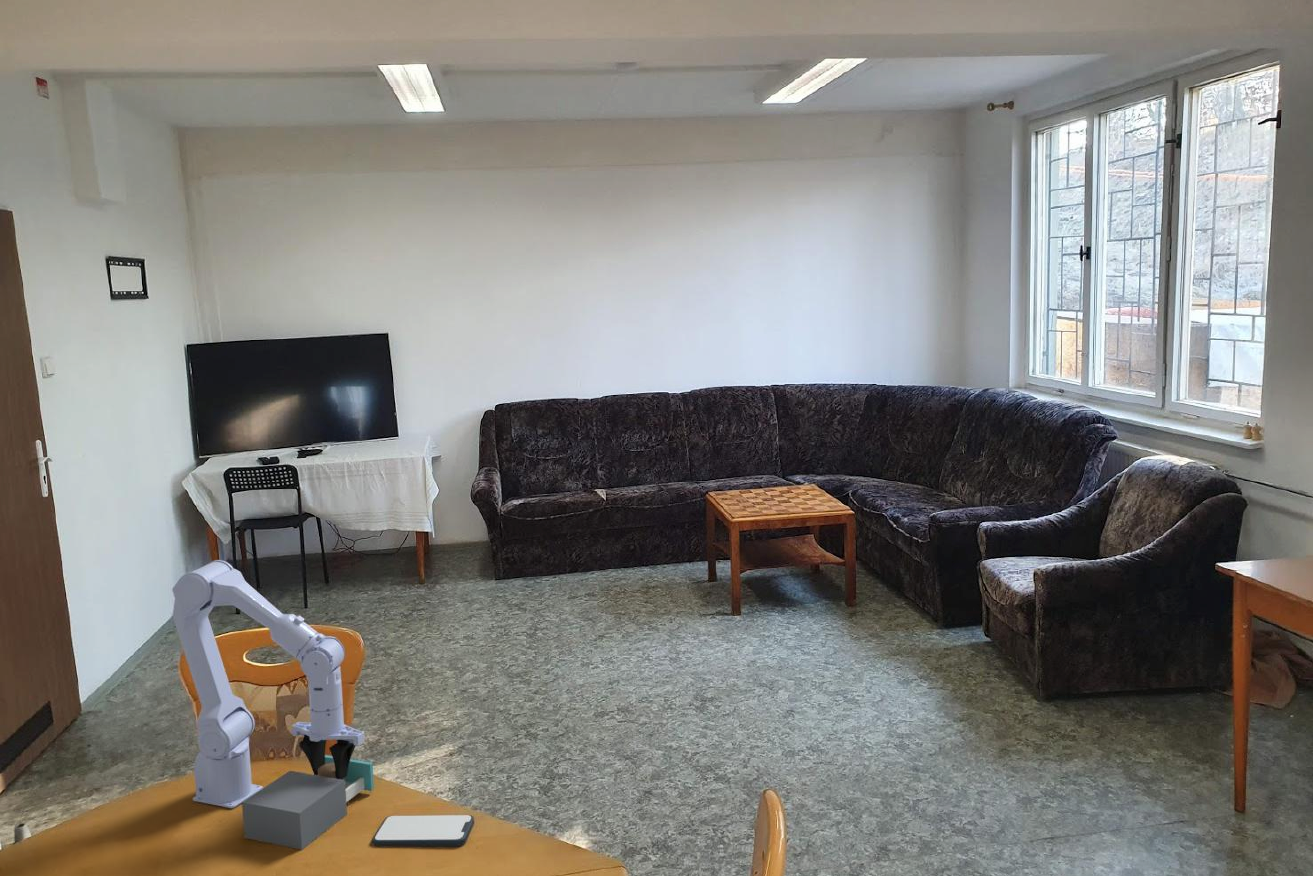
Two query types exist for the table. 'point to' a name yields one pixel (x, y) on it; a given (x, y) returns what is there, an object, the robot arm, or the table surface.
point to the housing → (294, 809)
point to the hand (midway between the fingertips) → (330, 776)
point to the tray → (356, 776)
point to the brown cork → (327, 770)
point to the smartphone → (424, 831)
